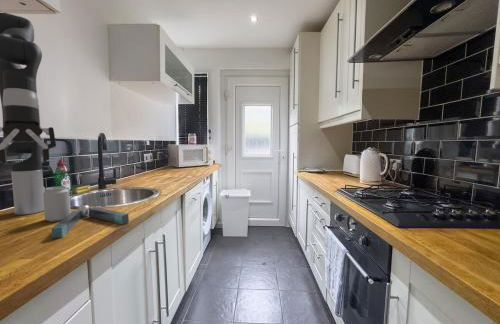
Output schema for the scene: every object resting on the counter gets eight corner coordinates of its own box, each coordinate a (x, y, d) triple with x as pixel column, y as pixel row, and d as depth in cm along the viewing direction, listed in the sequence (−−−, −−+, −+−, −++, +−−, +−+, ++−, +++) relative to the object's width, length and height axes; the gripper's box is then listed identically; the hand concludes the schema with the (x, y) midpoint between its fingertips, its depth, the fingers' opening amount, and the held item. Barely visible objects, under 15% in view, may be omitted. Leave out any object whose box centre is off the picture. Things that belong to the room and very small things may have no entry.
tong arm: (89, 216, 91) (88, 208, 91) (95, 214, 93) (95, 206, 93) (122, 224, 82) (121, 215, 81) (128, 222, 84) (128, 213, 84)
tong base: (76, 216, 92) (75, 206, 91) (90, 215, 93) (89, 204, 93) (52, 238, 70) (51, 225, 70) (70, 236, 72) (70, 223, 71)
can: (73, 215, 93) (71, 184, 93) (67, 220, 87) (65, 188, 86) (49, 217, 91) (47, 186, 90) (41, 223, 84) (38, 189, 83)
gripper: (53, 112, 77) (57, 162, 76) (-11, 108, 68) (-8, 165, 68) (53, 106, 71) (56, 160, 70) (-18, 101, 62) (-14, 163, 62)
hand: (25, 163), depth 69 cm, fingers open, 8 cm apart
